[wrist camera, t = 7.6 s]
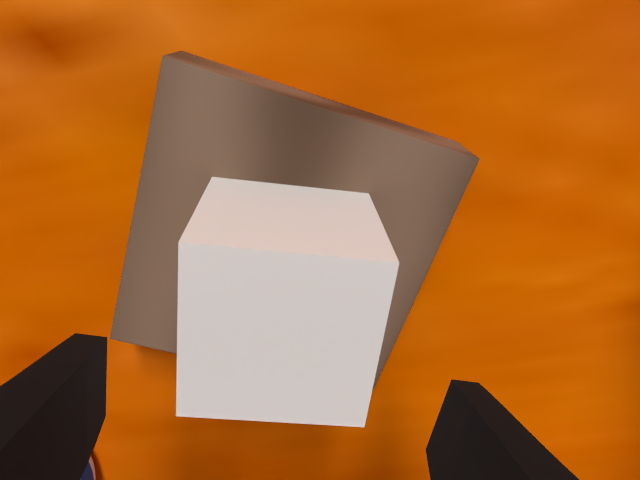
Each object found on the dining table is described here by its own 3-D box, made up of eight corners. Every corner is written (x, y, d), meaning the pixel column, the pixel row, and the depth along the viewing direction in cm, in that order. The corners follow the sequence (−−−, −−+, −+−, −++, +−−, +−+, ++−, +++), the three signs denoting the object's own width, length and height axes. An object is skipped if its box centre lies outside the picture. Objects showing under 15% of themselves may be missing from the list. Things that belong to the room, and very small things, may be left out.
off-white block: (368, 193, 16) (399, 262, 11) (346, 323, 18) (364, 427, 13) (212, 176, 15) (178, 242, 11) (206, 312, 17) (176, 416, 13)
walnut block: (451, 138, 18) (479, 158, 16) (360, 350, 22) (369, 397, 19) (184, 49, 17) (162, 55, 14) (134, 295, 20) (109, 338, 18)
